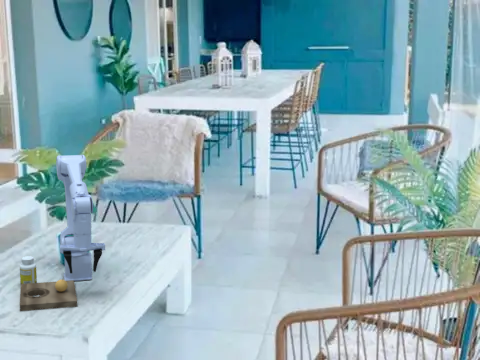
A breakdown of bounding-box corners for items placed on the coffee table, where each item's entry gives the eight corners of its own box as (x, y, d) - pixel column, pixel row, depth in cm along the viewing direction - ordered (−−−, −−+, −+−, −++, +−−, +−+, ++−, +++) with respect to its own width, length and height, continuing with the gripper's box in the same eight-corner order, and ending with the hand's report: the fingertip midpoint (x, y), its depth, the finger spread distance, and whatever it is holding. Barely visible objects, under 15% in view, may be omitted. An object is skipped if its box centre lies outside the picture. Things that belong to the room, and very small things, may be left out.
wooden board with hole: (73, 285, 227) (73, 280, 227) (77, 306, 211) (77, 300, 210) (20, 289, 222) (20, 284, 222) (19, 311, 206) (19, 305, 205)
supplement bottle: (31, 280, 230) (30, 254, 228) (39, 284, 227) (39, 257, 225) (17, 284, 226) (16, 257, 224) (26, 288, 223) (25, 261, 221)
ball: (67, 288, 220) (67, 277, 219) (68, 293, 216) (67, 281, 215) (55, 289, 219) (54, 278, 218) (55, 294, 215) (55, 282, 214)
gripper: (60, 237, 209) (60, 277, 212) (106, 235, 213) (106, 274, 216) (59, 230, 216) (59, 269, 219) (103, 228, 220) (104, 266, 223)
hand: (82, 271), depth 218 cm, fingers open, 7 cm apart
